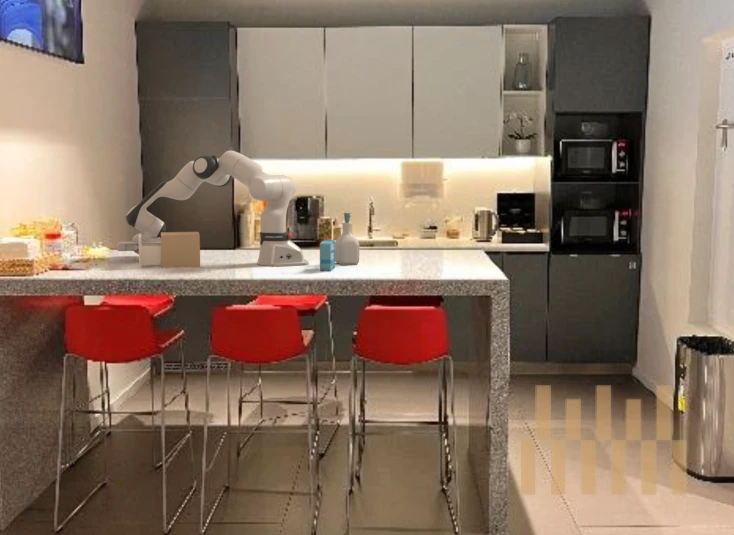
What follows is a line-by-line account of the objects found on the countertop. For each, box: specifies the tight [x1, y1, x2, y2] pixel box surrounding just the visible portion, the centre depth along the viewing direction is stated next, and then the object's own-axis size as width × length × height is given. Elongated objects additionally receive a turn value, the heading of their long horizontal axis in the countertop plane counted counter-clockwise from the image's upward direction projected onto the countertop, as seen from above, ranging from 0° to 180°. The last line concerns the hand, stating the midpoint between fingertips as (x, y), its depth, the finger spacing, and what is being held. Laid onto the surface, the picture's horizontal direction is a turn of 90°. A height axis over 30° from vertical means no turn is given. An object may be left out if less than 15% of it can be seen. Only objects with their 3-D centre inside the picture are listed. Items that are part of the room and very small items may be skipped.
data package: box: [319, 239, 336, 272], centre depth 344 cm, size 12×4×12 cm, turn 173°
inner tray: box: [138, 234, 162, 268], centre depth 352 cm, size 16×17×13 cm
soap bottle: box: [335, 212, 360, 266], centre depth 361 cm, size 10×10×23 cm
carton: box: [161, 231, 201, 269], centre depth 352 cm, size 16×12×14 cm
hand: (140, 248), depth 356 cm, fingers closed on inner tray
